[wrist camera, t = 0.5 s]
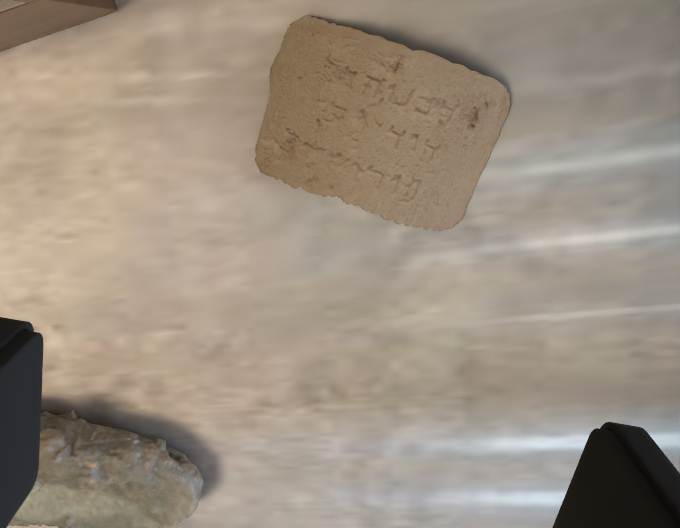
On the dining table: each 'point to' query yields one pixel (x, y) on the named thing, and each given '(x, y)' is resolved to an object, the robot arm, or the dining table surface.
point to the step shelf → (45, 17)
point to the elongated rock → (107, 479)
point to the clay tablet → (378, 124)
